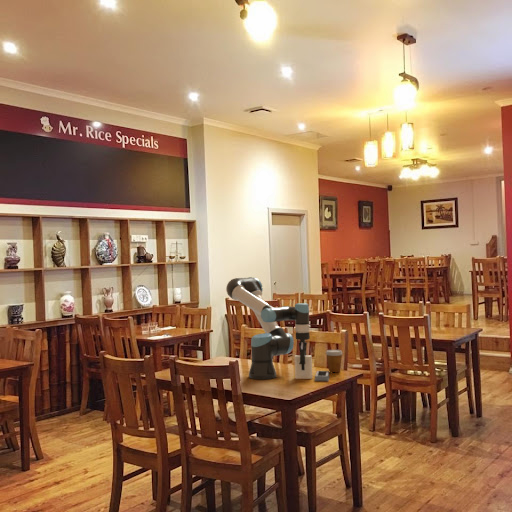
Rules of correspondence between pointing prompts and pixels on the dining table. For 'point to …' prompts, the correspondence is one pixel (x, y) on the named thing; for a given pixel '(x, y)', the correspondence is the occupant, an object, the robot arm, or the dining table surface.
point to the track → (322, 376)
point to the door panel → (308, 367)
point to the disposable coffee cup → (334, 360)
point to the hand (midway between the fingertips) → (303, 375)
